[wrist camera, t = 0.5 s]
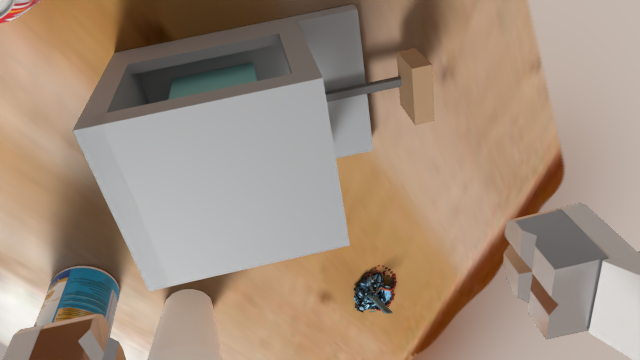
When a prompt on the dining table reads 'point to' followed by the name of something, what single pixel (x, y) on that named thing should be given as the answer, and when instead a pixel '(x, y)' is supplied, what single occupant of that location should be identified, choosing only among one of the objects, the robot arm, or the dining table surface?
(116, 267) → the dining table surface
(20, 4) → the soda can
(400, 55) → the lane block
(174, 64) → the shelf lane
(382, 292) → the blue bumpy stemmed lump
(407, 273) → the dining table surface
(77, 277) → the beverage bottle
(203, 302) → the foam cup
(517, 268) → the robot arm
